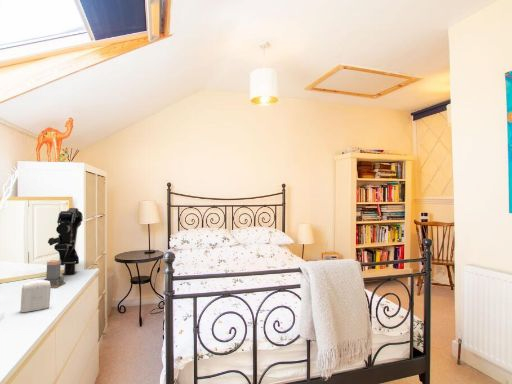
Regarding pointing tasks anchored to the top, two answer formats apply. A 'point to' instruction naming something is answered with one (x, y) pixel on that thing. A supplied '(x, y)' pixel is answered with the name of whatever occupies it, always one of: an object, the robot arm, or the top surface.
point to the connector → (53, 270)
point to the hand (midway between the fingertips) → (64, 259)
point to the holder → (57, 282)
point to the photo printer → (35, 295)
